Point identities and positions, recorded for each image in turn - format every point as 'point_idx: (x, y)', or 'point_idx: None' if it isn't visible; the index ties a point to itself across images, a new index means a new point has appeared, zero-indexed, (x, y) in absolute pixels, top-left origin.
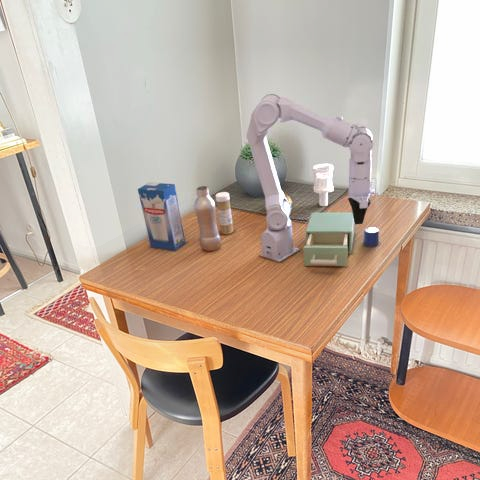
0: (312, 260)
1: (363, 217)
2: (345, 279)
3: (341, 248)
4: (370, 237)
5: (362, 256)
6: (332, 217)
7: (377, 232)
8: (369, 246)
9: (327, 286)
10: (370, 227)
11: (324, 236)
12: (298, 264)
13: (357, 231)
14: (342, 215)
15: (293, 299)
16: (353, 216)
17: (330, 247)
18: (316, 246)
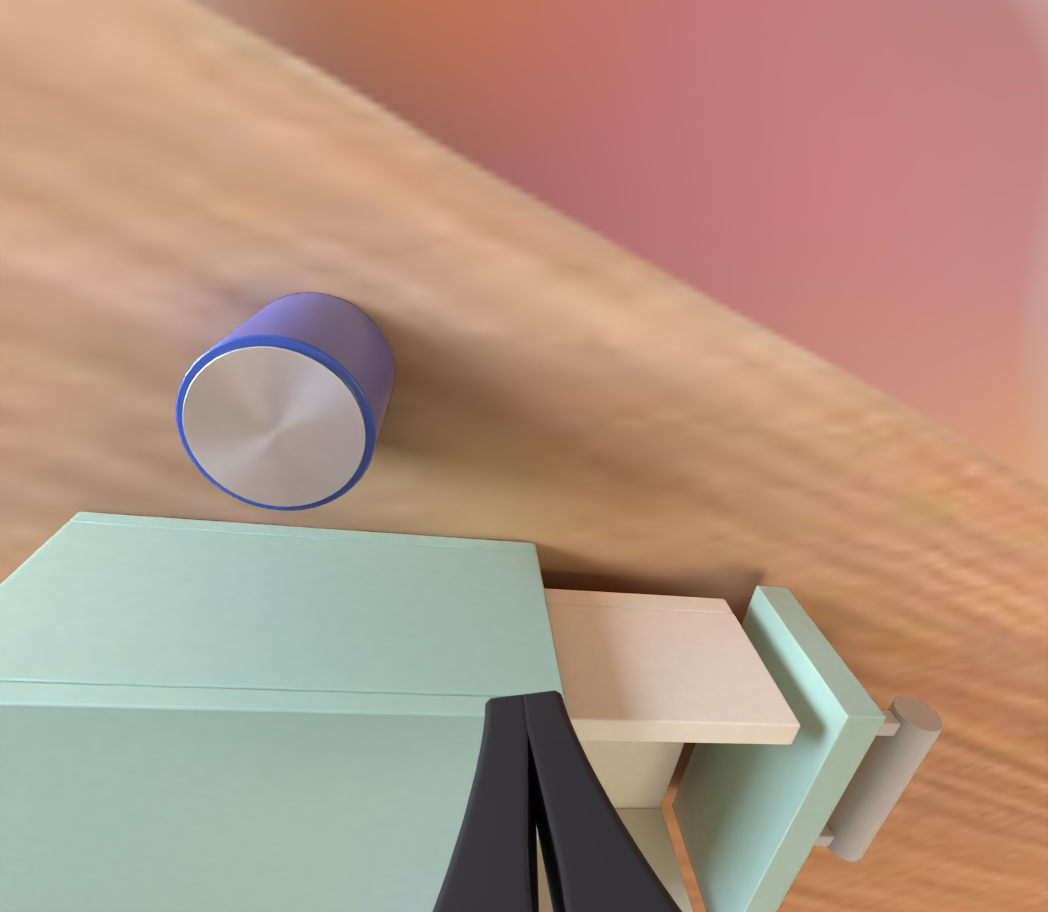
0: (864, 852)
1: (599, 785)
2: (920, 581)
3: (861, 751)
4: (381, 421)
5: (592, 459)
6: (134, 885)
7: (337, 357)
8: (392, 387)
9: (960, 670)
10: (193, 439)
11: None
12: None
13: (5, 476)
14: (47, 812)
15: (1013, 794)
16: (537, 898)
17: (822, 824)
18: (763, 898)
